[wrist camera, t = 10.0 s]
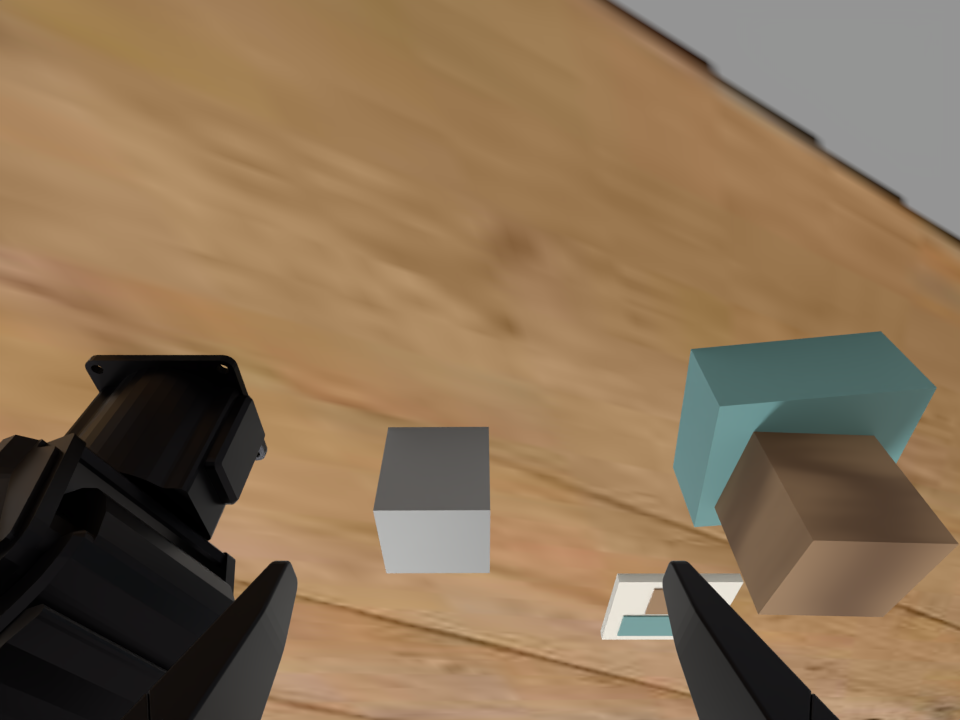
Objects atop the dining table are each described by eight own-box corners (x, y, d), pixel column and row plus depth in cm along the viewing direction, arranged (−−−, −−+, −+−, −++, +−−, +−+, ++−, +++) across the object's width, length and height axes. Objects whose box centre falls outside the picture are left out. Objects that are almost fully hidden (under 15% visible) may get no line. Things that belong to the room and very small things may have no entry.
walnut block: (714, 507, 25) (758, 614, 21) (753, 431, 22) (813, 540, 18) (820, 510, 25) (883, 617, 21) (874, 435, 22) (958, 544, 18)
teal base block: (671, 462, 29) (694, 527, 26) (688, 344, 24) (719, 406, 21) (826, 450, 29) (868, 514, 26) (876, 326, 24) (937, 387, 21)
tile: (600, 631, 40) (601, 641, 40) (617, 573, 35) (619, 583, 35) (707, 631, 40) (711, 641, 40) (740, 573, 35) (744, 583, 35)
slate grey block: (398, 489, 30) (386, 573, 26) (388, 426, 27) (372, 510, 23) (488, 489, 30) (489, 572, 26) (488, 425, 27) (490, 510, 23)
